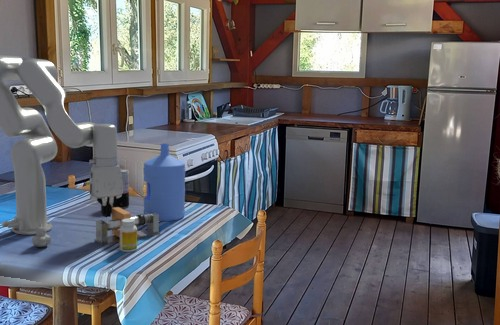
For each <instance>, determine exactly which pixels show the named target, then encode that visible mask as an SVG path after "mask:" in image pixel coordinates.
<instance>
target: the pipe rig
mask: <svg viewBox="0 0 500 325" xmlns="http://www.w3.org/2000/svg"><path fill="white" fill-rule="evenodd" d="M131 219H135V226H136V227H137V226H138V227H140V226H141V227H142V226H144V225H146V229H142V230H137V240H138V239H141V238H147V237H153V236H157V235H161V232H160V231H159V228H160V227H159V226H160V224H159V222H160V221H159V214H156V213H154V212H147V214H145V215H144V213H143V214H142V213H141V214H136V215H134V216H131ZM120 227H121V219H115V220H112V219H110V220H105V221H104V220H102V219H99V220H96V221H95V236H96V237H95V239H94V241H95V242H96V243H98V244H100V245H101V246H106V245H112V244H116V243H120V238H119V237H118V236H116V235H114V234H113V235H110V236H108V232H109V231H112V230H115V229H120Z"/></svg>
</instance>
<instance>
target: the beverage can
mask: <svg viewBox="0 0 500 325" xmlns="http://www.w3.org/2000/svg"><path fill="white" fill-rule="evenodd" d="M121 173H122V180H123V193H122V197H120V198H117V199H116V200H115V201H114V202H113V204H112V208H115V207H119V208H121V209H127V208H129V206H130V172H129V169H126V168H121Z"/></svg>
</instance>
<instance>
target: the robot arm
mask: <svg viewBox="0 0 500 325" xmlns="http://www.w3.org/2000/svg"><path fill="white" fill-rule="evenodd" d="M58 74H59V73H58V68H57V66H56V65H55V64H54V63H53V62H52V61H50V60H48V59H42V58H33V57H27V56H21V55H20V56H19V55H3V54H0V130H1V131H2V133H3V134H4V136H6V137H8V138H19V137H24V138H23V139H20V140H18V141H16V142H15V143H14V144H13V146H11V150H10V160H11V163H12V167H13V173H14V186H15V188H14V189H15V205H16V208H15V209H16V216H13V218H14V219H11V220H9V221H8V220H7V221H1V227H2V228H7V229H12V233H15V234H17V235H25V236H26V235H27V236H28V235H30V236H31V235H37V234H36V228H37V226H38V225H39V226H40V222H41V225H44V226H45V228H46V233H47V232H49V231H50V230H51V229H52V228H53V225H52V224H53V223H51V222H49V221H48V213H47V212H48V209H47V191H46V190H47V189H46V187H47V184H46V175H45V172H44V169H43V167H42V164H44V163H48V162H50V161H52V160H53V159H54V158H56V156H57V154H58V145H57V141H56V139H55V137H54V135H53V134H52V132H53V133H54V134H55V136H56V137H57V138H58V139H59V140H60V141H61V142H62V143H63V144H64V145H65V146H67V147H69V148H73V149H76V148H77V149H78V148H80V147H84V146H88V145H92V151H93V153H92V154H93V156H92V159H89V162H88V163H89V164H90V165H91V169H90V175H89V200H90V201H91V202H98V203H99V204H100V212H101V215H102V216H103V217H105V218H108V217H109V218H110V217H111V218H112V208H113V206H112V204H113V202H114V201H115V200H116V199H117V198H120V197H122V193H123V180H122V173H121V169H122V168H121V165H119V164H118V133H117V132H118V131H117V126H116V125H115V124H112V123H95V122H92V121H91V122H90V121H82V122H78V123H77V122H76V123H75V122H74V120H73V119H72V118H71V117H70V115H69V114H68V113H67V111H66V108H65V106H64V102H65V100H66V98H67V92H66V91H65V89H64V88H63V87H62V86H61V85H60V84H59V82H58V81H57V79H58ZM14 81H15V82H22V83H23V85H25V87H26V88H27V89H28V90H29V92H30V93H31V95H33V96H34V97H35V99H36V100H37V101H38V103H39V104H40V105H41V106H42V107H43V109H44V113H45V114H44V115H45V117H46V120H47V122H46V120H45V119H44V117H43V115H42V114H41V112H39V111H38V110H36V109H35V108H32V107H28V106H27V107H21V105H20V104H19V103H18V100H17V99H16V97H15V95H14V93H13V92H12V91H11V89H9V87H8V86H6V84H5V83H4V82H14ZM47 123H48V124H47ZM48 125H49V126H48ZM50 129H51V130H50Z"/></svg>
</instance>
